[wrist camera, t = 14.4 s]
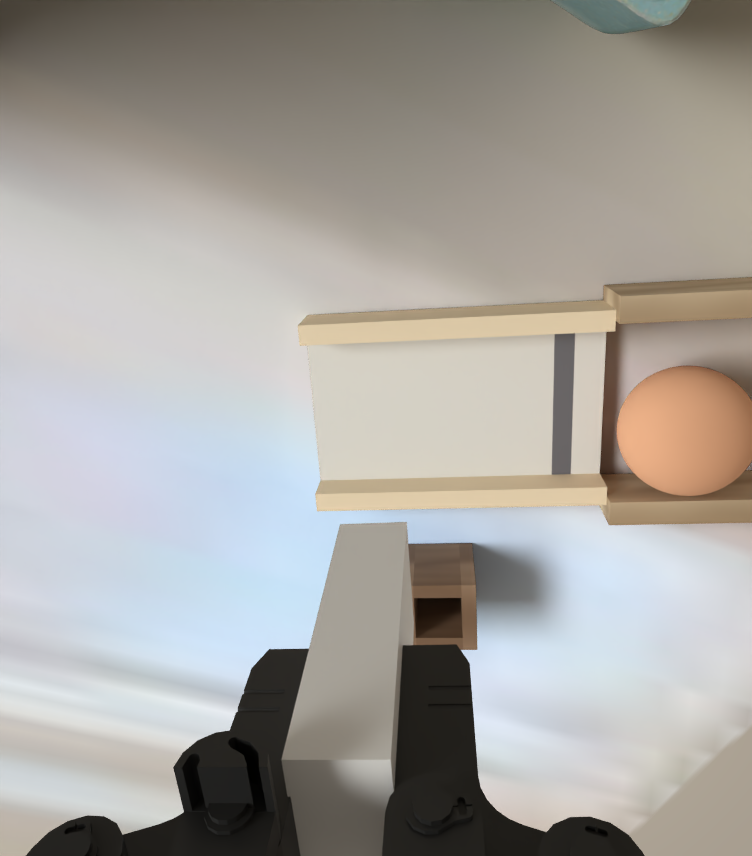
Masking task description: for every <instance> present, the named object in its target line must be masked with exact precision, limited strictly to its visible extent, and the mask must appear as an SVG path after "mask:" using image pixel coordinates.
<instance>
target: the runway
mask: <svg viewBox="0 0 752 856" xmlns="http://www.w3.org/2000/svg"><path fill="white" fill-rule="evenodd" d="M615 327H616V309H614V308H613V307H612V306H610V305H609V304H608V303H606V302H605V301H604V300H596V301H576V302H556V303H536V304H517V305H497V306H477V307H457V308H437V309H417V310H398V311H378V312H358V313H338V314H318V315H307V316H306V317H305V319H304V320H303V321H302V322H301V323H300V324H299V325H298V333H299V342H300V346H307V350H308V360H309V370H310V380H311V390H312V400H313V410H314V420H315V429H316V439H317V449H318V459H319V469H320V479H321V481H320V484H319V486H318V489H317V491H316V494H315V495H316V505H317V511H349V510H397V509H444V508H492V507H540V506H587V505H606V502H607V486H606V484H605V482H604V480H603V479H602V477H601V475H600V457H601V435H602V414H603V393H604V371H605V350H606V332H612V331H615Z"/></svg>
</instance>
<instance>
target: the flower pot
mask: <svg viewBox="0 0 752 856" xmlns="http://www.w3.org/2000/svg"><path fill="white" fill-rule="evenodd" d="M551 1H552V2H554V3H555V4H557V5H559V6H560V7H562V8H563V9H565V10H566V11H568V12H569V13H571V14H572V15H573V16H575V17H576V18H578V19H579V20H581V21H582V22H584V23H585V24H587V25H589V26H590V27H592V28H594V29H596V30H599V31H601V32H604V33H608V34H620V33H628V32H634V31H639V30H644V29H649V28H655V27H659V26H666V25H669V24H671V23H673V22H674V21H676V20H677V19H678V18H679V17H680V16H681V15H682V14H683V13H684V11H685V10H686V8H687V7H688V5H689V4H690V2H691V0H551Z"/></svg>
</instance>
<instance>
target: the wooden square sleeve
mask: <svg viewBox="0 0 752 856" xmlns="http://www.w3.org/2000/svg"><path fill="white" fill-rule="evenodd" d="M408 548H409V562H410V576H411V589H412V603H413V617H414V637H413V645H448V644H457V646H458V647H459V649H460V650H477V614H476V580H475V570H474V559H473V548H472V543H453V544H408Z"/></svg>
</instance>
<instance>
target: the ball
mask: <svg viewBox="0 0 752 856" xmlns="http://www.w3.org/2000/svg"><path fill="white" fill-rule="evenodd" d="M617 440H618V445H619V449H620V451H621V454H622V456H623V458H624V460H625V462H626V464H627V465H628V466H629V468H630V469H631V470H632V472H633V473H634V474H635V475H636V476H637V477H638V478H640V479H641V480H642V481H643V482H645V483H646V484H648V485H649V486H651V487H653V488H655V489H657V490H660V491H662V492H666V493H669V494H674V495H680V496H697V495H703V494H708V493H711V492H714V491H717V490H719V489H722V488H724V487H726V486H727V485H729V484H730V483H732V482H733V481H735V480H736V479H737V478H738V477H739V476H740V475H741V474H742V473H743V472H744V471H745V470H746V469H747V467H748V466H749V464H750V463H751V461H752V401H751V399H750V398H749V396H748V395H747V393H746V392H745V391H744V390H743V389H742V388H741V387H740V386H739V385H738V384H737V383H736V382H735V381H733V380H732V379H730V378H729V377H727V376H725V375H723V374H721V373H719V372H717V371H714V370H711V369H708V368H704V367H698V366H678V367H672V368H668V369H665V370H662V371H659V372H657V373H654V374H653V375H651V376H649V377H647V378H646V379H644V380H643V381H642V382H640V383H639V384H638V385H637V386H636V387H635V388H634V389H633V390H632V391H631V393H630V394H629V395H628V396H627V398H626V400H625V402H624V403H623V405H622V407H621V410H620V413H619V417H618V422H617Z"/></svg>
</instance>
